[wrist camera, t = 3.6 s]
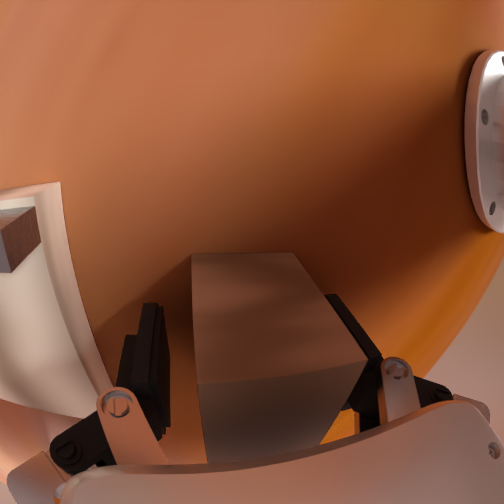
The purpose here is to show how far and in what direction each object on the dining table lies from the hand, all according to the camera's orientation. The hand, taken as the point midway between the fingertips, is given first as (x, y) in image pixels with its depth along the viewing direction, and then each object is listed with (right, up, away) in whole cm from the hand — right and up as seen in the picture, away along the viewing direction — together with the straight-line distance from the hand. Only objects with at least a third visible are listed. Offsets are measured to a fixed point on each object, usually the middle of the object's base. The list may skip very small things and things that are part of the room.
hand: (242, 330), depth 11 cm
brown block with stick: (0, -2, +2) cm, 2 cm away
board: (-18, 0, -3) cm, 18 cm away
